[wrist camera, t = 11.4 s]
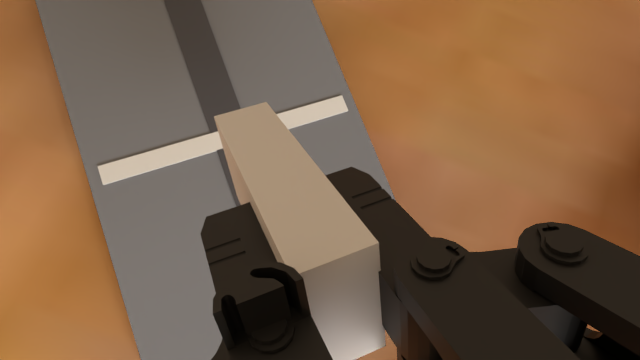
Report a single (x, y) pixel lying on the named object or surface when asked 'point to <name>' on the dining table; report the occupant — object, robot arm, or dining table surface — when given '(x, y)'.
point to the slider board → (188, 134)
